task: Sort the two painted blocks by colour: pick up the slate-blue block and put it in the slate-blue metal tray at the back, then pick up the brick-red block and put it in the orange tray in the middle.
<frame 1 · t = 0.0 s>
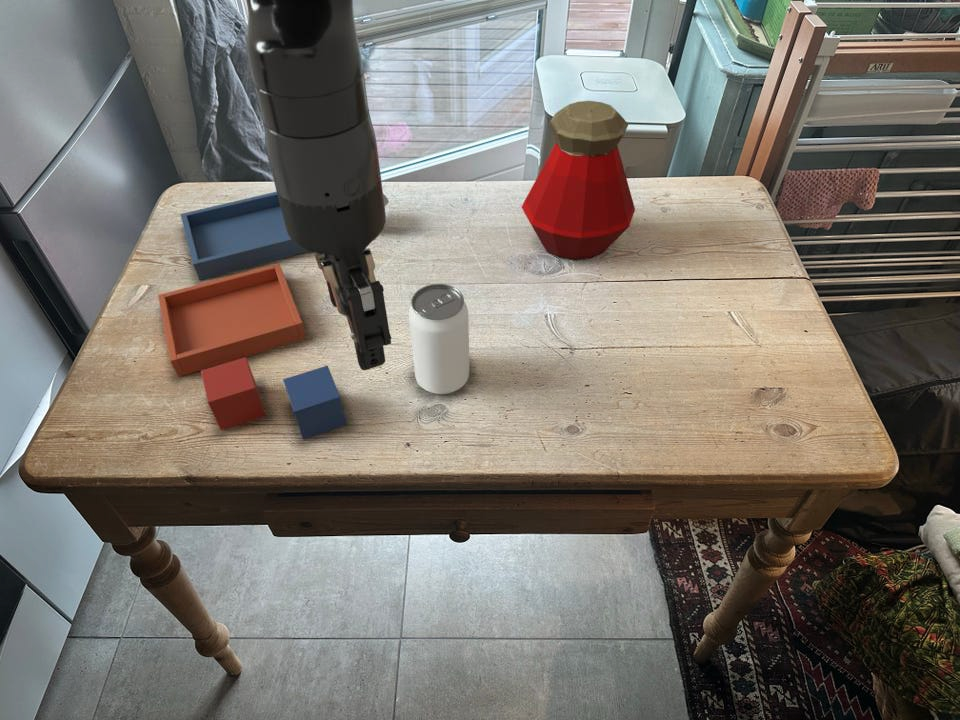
hand: (357, 332, 60), 18 cm above the table, tool pointing down, fingers open, 8 cm apart
can: (442, 376, 81), on the table
orange tray: (234, 324, 86), on the table
red block: (239, 407, 77), on the table
frog figurine: (368, 227, 101), on the table
bottle: (573, 243, 98), on the table
blue tray: (247, 240, 98), on the table
blue block: (319, 416, 76), on the table
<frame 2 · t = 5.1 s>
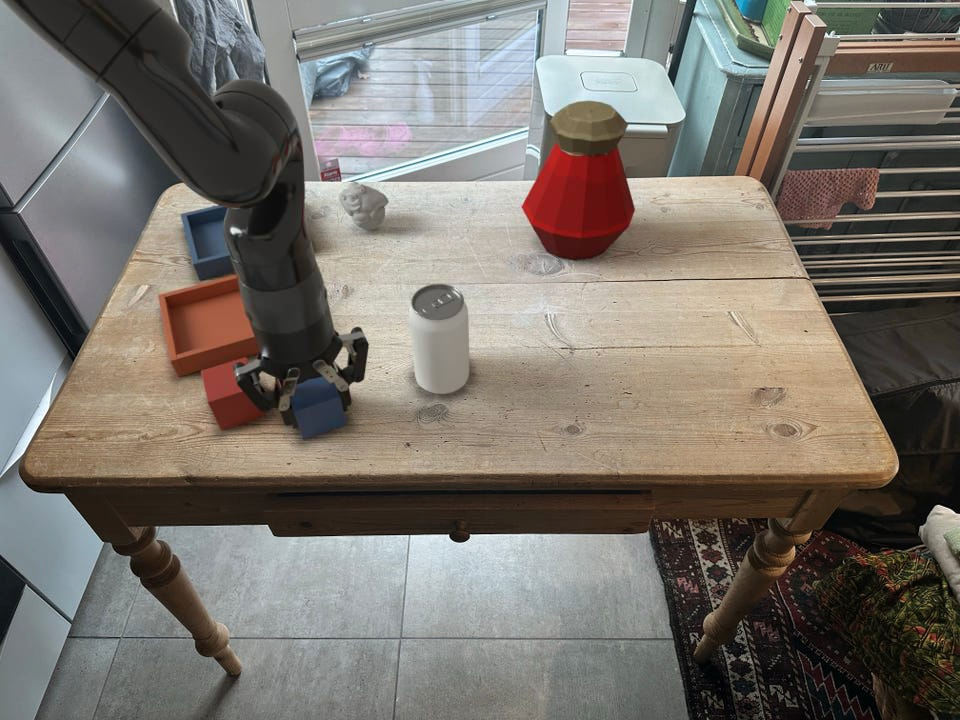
hand: (318, 414, 76), 0 cm above the table, tool pointing down, fingers closed on blue block, 5 cm apart
blue block: (319, 416, 76), on the table, touching gripper
everything else where it was.
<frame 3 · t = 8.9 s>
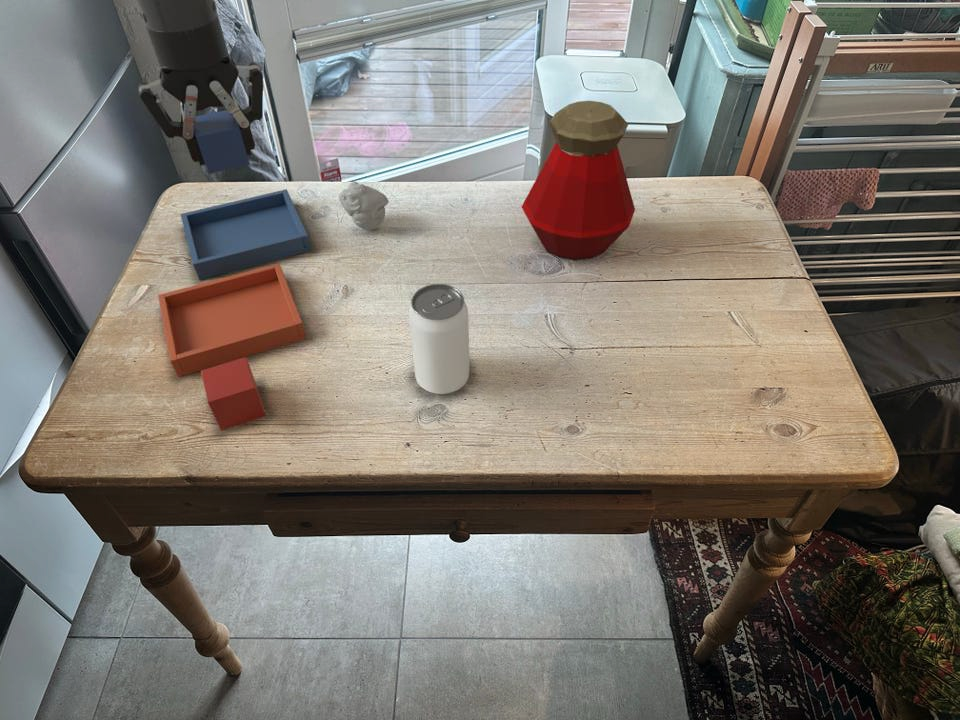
hand: (224, 156, 85), 16 cm above the table, tool pointing down, fingers closed on blue block, 5 cm apart
blue block: (226, 159, 85), point 15 cm above the table, touching gripper
everything else where it was.
when the fingers open (1 cm above the table, at t = 12.9 s): blue block stays where it is, resting on blue tray.
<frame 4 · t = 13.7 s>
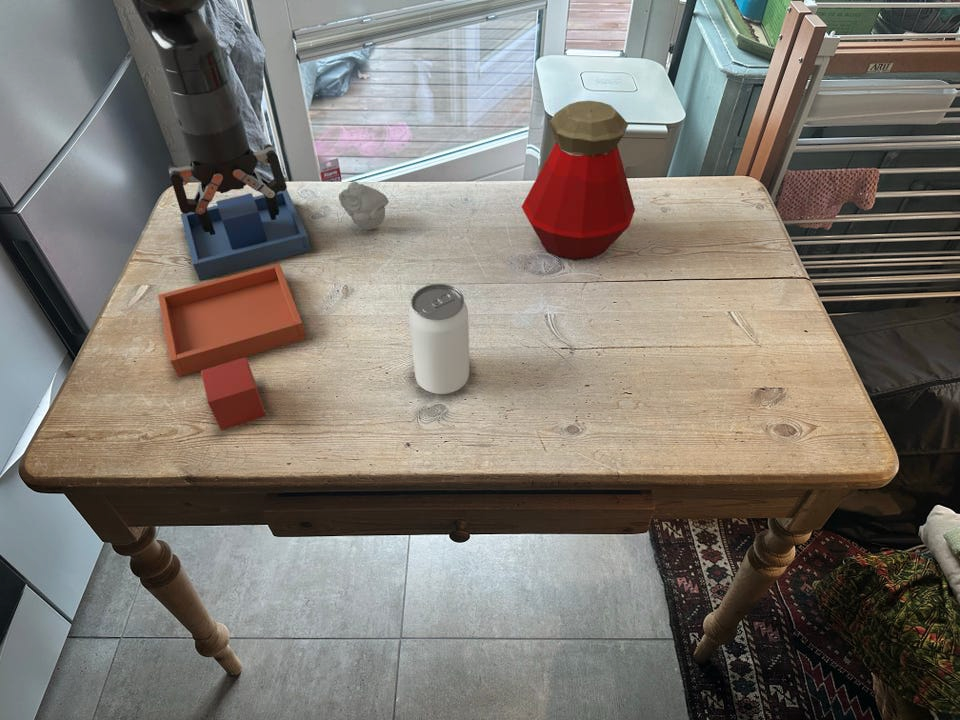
hand: (242, 224, 96), 3 cm above the table, tool pointing down, fingers open, 8 cm apart
blue block: (246, 235, 98), point 1 cm above the table, touching blue tray
everything else where it was.
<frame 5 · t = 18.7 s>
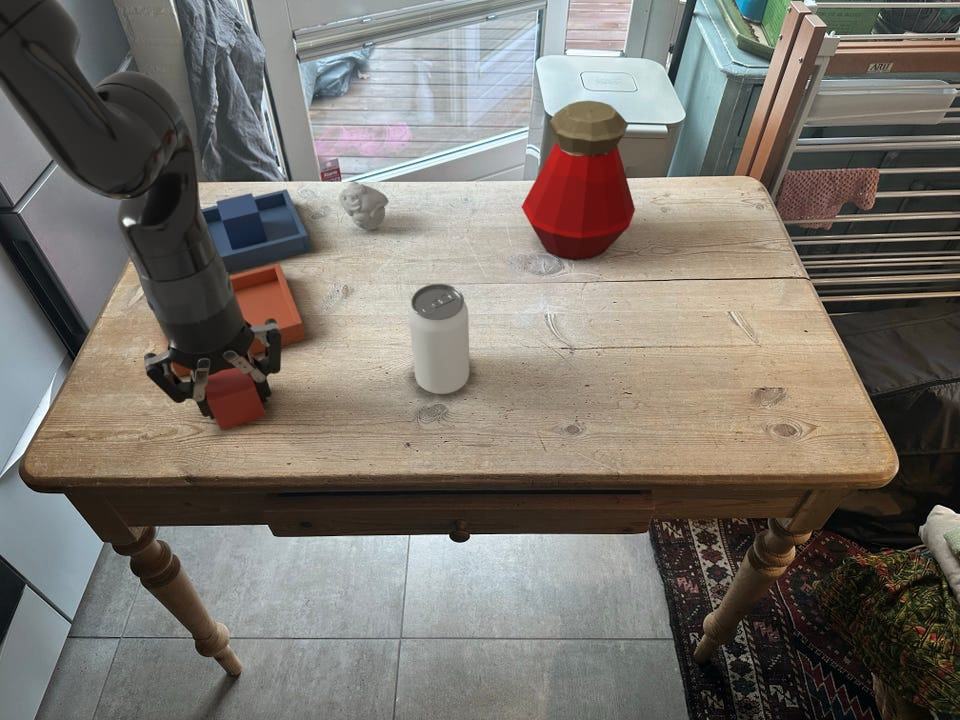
hand: (238, 405, 77), 0 cm above the table, tool pointing down, fingers closed on red block, 5 cm apart
red block: (239, 407, 77), on the table, touching gripper
everything else where it was.
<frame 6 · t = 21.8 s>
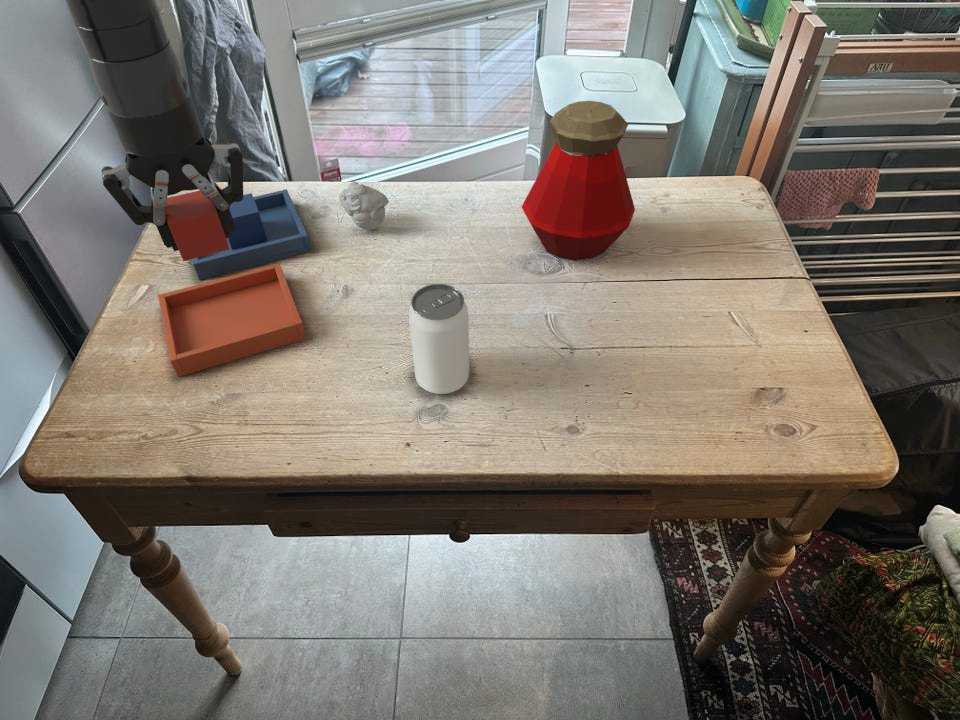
hand: (201, 239, 76), 14 cm above the table, tool pointing down, fingers closed on red block, 5 cm apart
red block: (203, 242, 76), point 13 cm above the table, touching gripper
everything else where it was.
when the fingers open (1 cm above the table, at t = 25.1 s): red block stays where it is, resting on orange tray.
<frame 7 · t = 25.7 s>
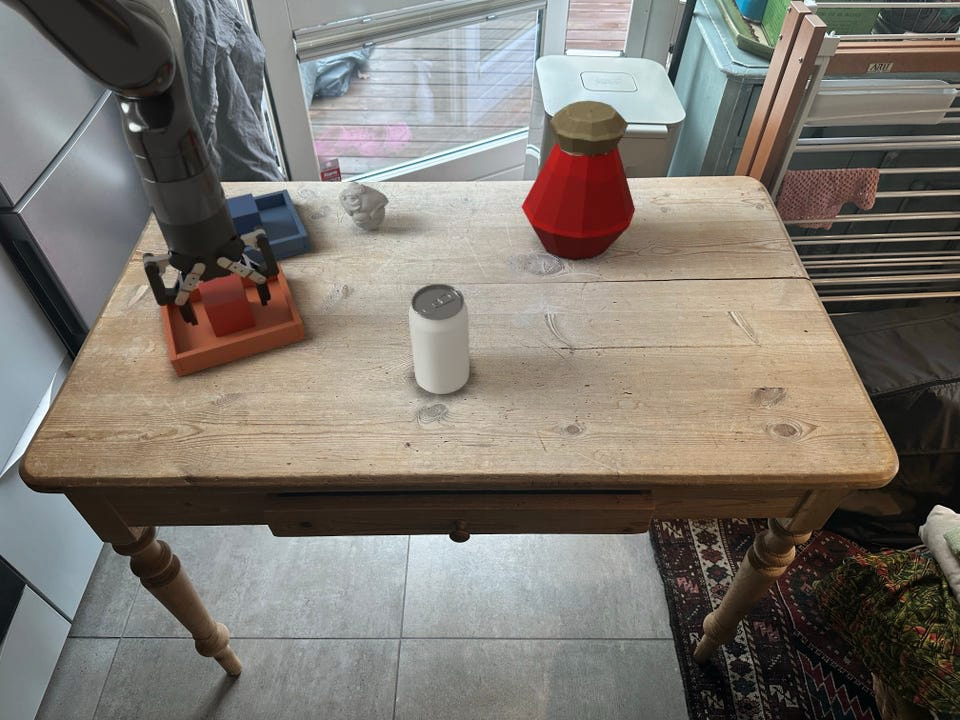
hand: (229, 311, 85), 2 cm above the table, tool pointing down, fingers open, 8 cm apart
red block: (232, 319, 86), point 1 cm above the table, touching orange tray
everything else where it was.
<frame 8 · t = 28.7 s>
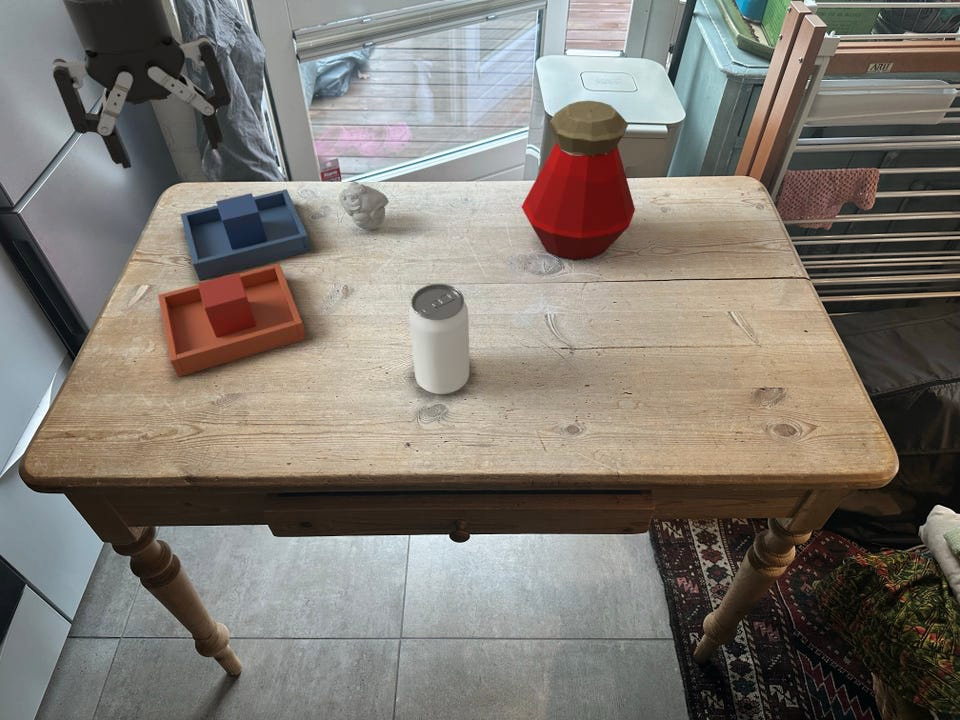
hand: (171, 155, 69), 24 cm above the table, tool pointing down, fingers open, 8 cm apart
nothing on the table moved.
at the end: blue block inside the target area in the blue tray (0.0 cm from its centre), point 0.8 cm above the blue tray's base; red block inside the target area in the orange tray (0.1 cm from its centre), point 0.8 cm above the orange tray's base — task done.
